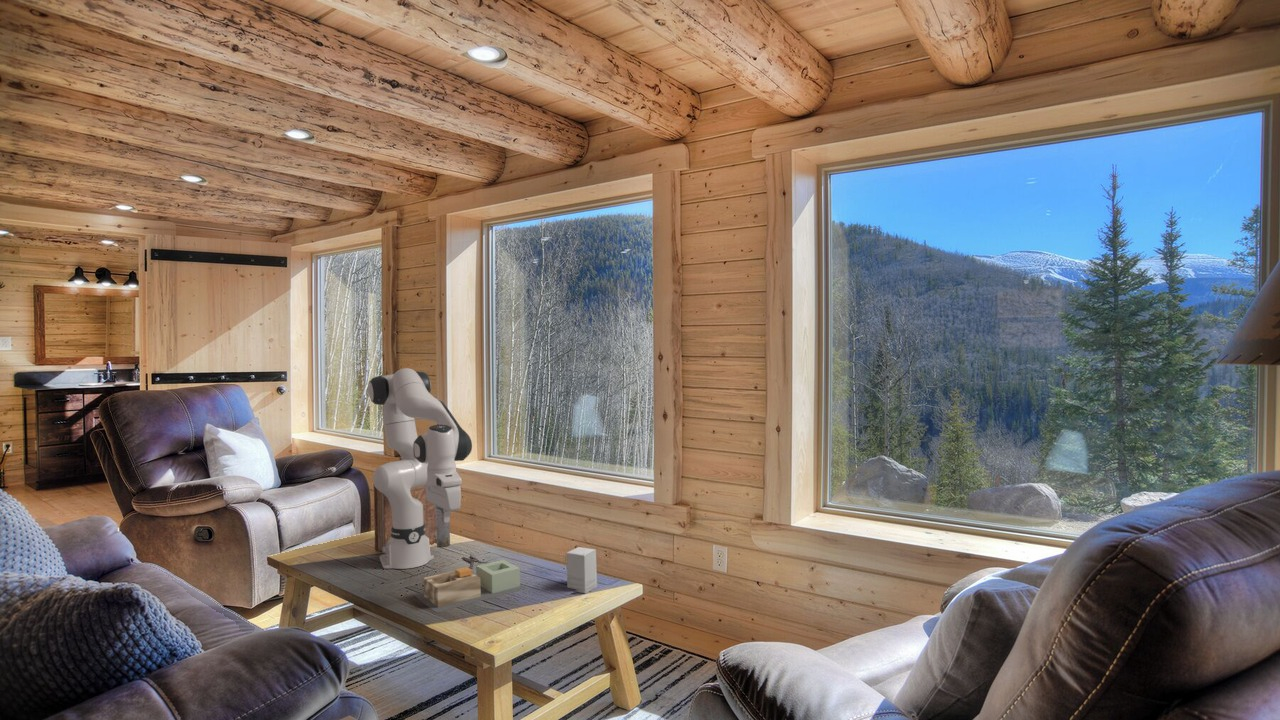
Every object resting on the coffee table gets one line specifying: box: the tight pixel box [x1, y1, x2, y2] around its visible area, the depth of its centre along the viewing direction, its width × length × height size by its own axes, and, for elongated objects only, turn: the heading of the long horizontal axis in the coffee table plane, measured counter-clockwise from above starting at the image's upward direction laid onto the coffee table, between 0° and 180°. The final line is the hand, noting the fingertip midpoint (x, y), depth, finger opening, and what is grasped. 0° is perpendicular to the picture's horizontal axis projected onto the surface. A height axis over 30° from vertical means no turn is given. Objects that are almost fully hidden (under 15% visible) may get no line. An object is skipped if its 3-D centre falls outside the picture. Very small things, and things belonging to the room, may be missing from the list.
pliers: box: [462, 555, 488, 570], centre depth 251 cm, size 10×1×20 cm
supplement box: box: [565, 546, 598, 594], centre depth 224 cm, size 7×7×13 cm
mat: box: [414, 583, 529, 613], centre depth 221 cm, size 19×31×1 cm, turn 128°
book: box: [373, 485, 437, 554], centre depth 276 cm, size 25×9×30 cm, turn 135°
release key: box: [454, 566, 473, 577], centre depth 219 cm, size 4×4×6 cm
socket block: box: [423, 570, 481, 607], centre depth 217 cm, size 12×14×6 cm
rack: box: [475, 559, 521, 593], centre depth 226 cm, size 12×10×6 cm
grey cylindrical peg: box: [436, 507, 451, 549], centre depth 215 cm, size 4×4×12 cm
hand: (442, 520), depth 215 cm, fingers closed on grey cylindrical peg, 4 cm apart
